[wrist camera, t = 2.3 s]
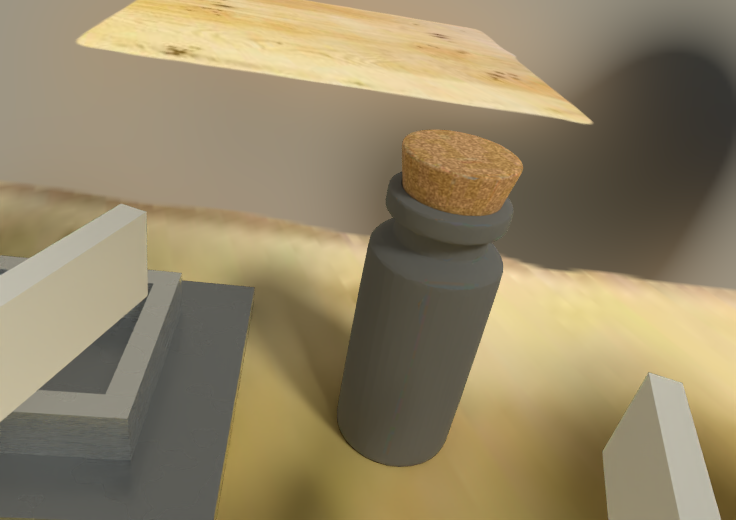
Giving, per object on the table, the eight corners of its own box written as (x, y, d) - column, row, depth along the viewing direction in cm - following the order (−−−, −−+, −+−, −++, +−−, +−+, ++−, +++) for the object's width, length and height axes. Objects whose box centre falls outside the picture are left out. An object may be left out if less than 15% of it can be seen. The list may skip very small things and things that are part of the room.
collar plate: (253, 302, 37) (257, 253, 35) (212, 543, 23) (214, 484, 21) (-58, 274, 34) (-72, 219, 32) (-307, 525, 21) (-358, 456, 19)
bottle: (437, 384, 33) (514, 133, 25) (456, 471, 28) (560, 193, 20) (334, 377, 32) (382, 115, 24) (336, 465, 27) (395, 172, 19)
